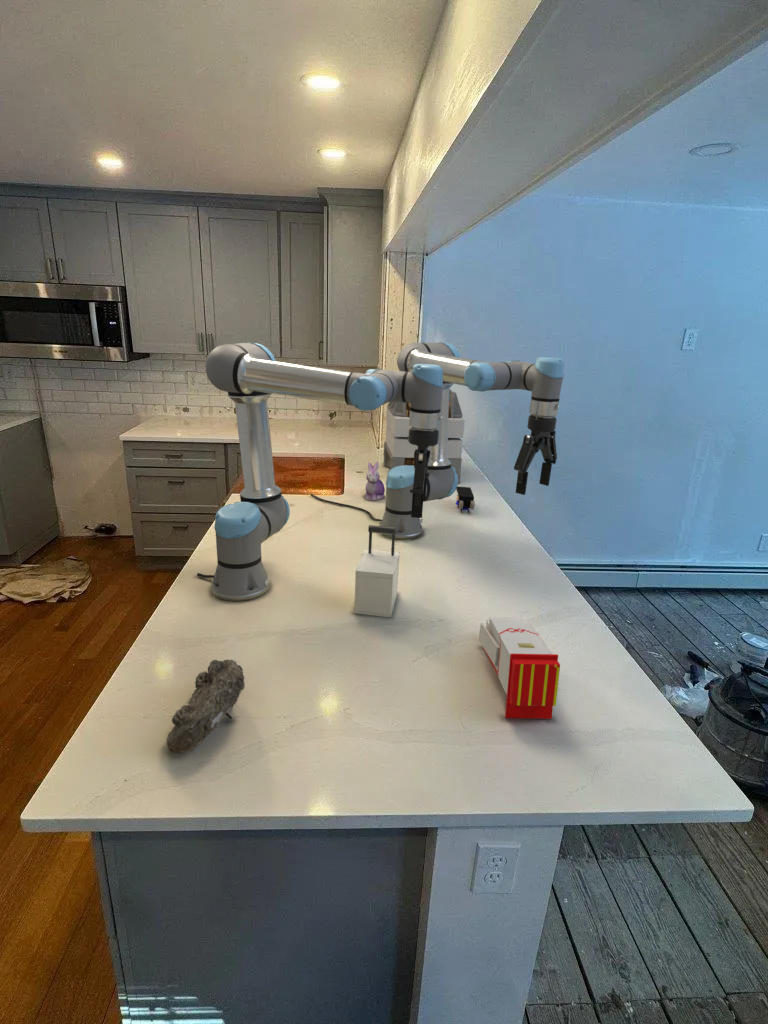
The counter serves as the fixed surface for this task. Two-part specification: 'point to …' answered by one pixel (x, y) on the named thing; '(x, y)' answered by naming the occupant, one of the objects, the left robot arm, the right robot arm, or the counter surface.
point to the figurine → (374, 483)
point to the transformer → (403, 451)
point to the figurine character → (465, 499)
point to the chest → (375, 594)
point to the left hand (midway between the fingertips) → (418, 508)
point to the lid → (379, 557)
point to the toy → (522, 666)
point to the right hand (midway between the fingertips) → (532, 489)
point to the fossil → (206, 705)
